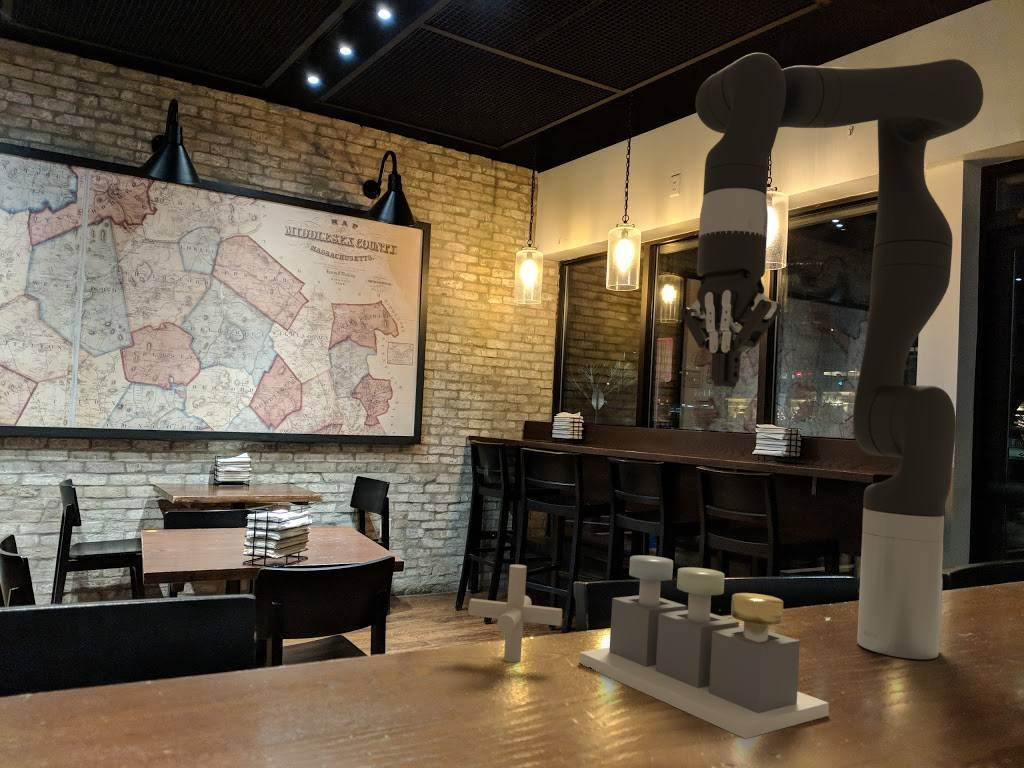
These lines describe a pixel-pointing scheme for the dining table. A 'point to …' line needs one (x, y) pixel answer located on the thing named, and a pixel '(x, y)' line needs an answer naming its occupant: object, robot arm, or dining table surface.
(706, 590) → the sage plug
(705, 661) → the socket board
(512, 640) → the pipe connector
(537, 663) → the dining table surface
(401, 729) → the dining table surface
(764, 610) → the brass plug
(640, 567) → the slate plug
